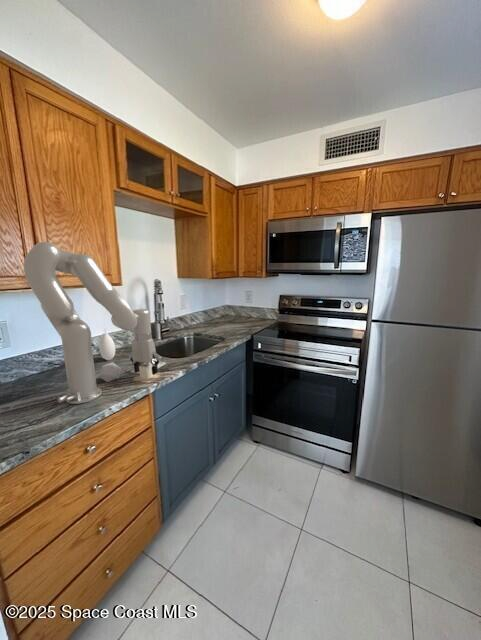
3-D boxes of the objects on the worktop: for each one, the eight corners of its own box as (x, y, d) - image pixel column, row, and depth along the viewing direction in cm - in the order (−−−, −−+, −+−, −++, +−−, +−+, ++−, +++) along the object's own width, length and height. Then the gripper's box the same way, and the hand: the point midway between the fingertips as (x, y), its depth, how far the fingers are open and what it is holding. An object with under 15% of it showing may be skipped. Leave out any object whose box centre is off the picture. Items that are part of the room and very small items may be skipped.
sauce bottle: (118, 359, 150) (115, 328, 147) (104, 363, 144) (100, 331, 141) (112, 356, 155) (109, 326, 152) (98, 360, 149) (94, 329, 146)
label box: (147, 379, 120) (146, 366, 119) (140, 378, 122) (138, 365, 120) (153, 376, 124) (151, 363, 123) (145, 375, 125) (144, 362, 124)
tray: (147, 375, 126) (147, 373, 126) (130, 373, 130) (130, 371, 129) (166, 364, 141) (166, 362, 141) (150, 362, 144) (150, 360, 144)
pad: (148, 383, 117) (148, 382, 117) (132, 381, 120) (131, 380, 120) (160, 375, 126) (160, 374, 126) (144, 373, 129) (144, 372, 128)
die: (121, 383, 120) (125, 362, 124) (102, 379, 114) (107, 358, 118) (112, 385, 125) (117, 365, 129) (93, 382, 119) (99, 361, 123)
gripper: (121, 337, 118) (125, 373, 122) (153, 340, 113) (157, 377, 116) (132, 333, 125) (136, 367, 129) (164, 335, 120) (166, 371, 123)
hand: (146, 372), depth 122 cm, fingers open, 9 cm apart
